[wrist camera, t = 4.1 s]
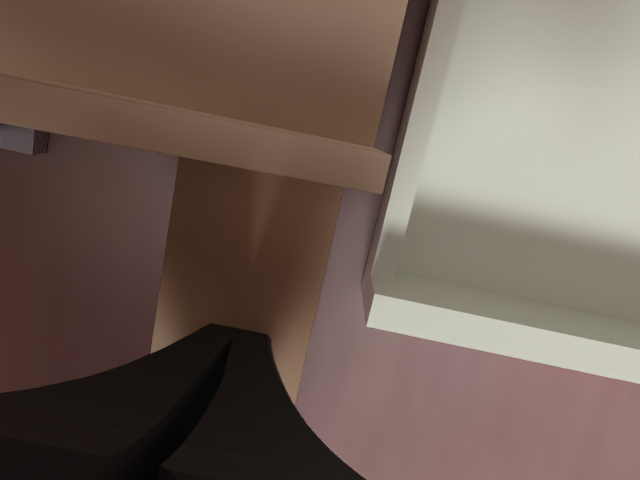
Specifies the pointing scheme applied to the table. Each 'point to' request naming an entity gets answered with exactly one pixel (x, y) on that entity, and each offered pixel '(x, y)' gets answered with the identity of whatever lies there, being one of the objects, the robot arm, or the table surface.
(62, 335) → the table surface
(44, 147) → the pivot
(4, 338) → the table surface
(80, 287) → the table surface
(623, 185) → the dish
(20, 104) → the lever
